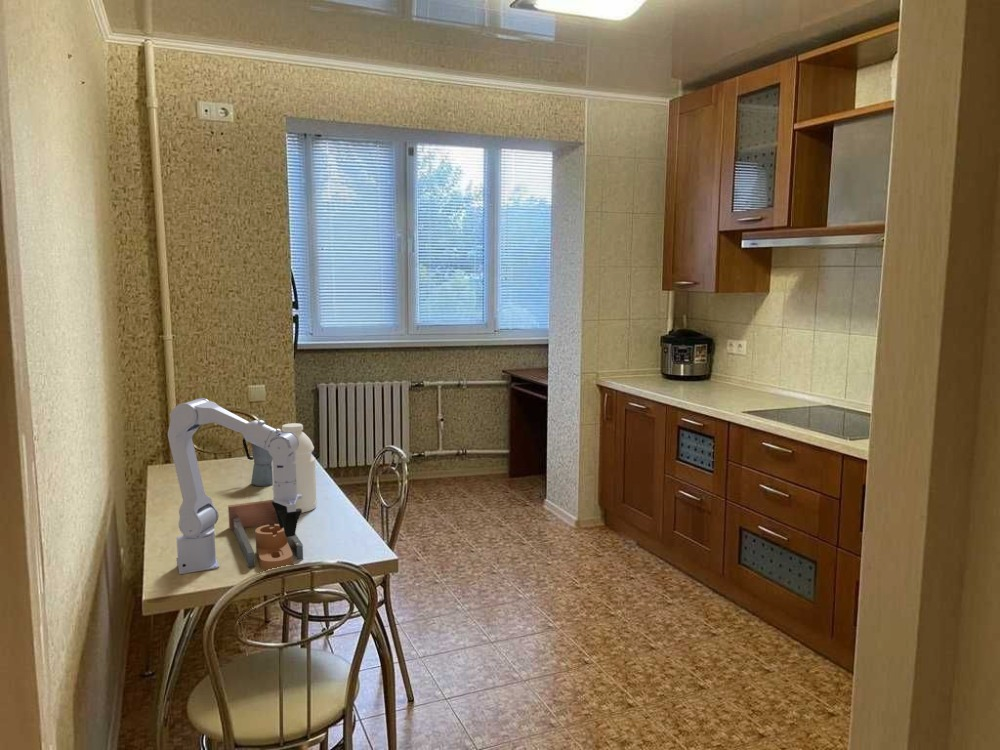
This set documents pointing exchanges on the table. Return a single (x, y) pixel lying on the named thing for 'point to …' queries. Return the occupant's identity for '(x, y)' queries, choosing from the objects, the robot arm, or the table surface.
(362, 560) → the table surface
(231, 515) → the receiver
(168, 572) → the table surface
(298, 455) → the bottle
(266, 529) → the bracket
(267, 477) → the moka pot
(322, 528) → the table surface
